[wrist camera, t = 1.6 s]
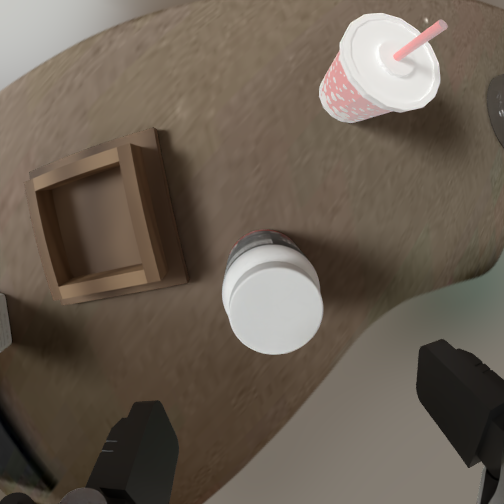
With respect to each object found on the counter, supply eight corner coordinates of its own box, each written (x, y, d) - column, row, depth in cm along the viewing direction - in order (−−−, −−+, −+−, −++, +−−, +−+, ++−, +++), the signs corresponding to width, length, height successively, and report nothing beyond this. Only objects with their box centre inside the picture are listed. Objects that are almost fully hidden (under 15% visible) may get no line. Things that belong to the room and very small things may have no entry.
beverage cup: (335, 145, 23) (435, 110, 10) (294, 78, 22) (347, -21, 8) (394, 114, 23) (512, 72, 9) (356, 52, 22) (442, -36, 8)
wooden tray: (156, 129, 23) (143, 121, 19) (189, 279, 25) (181, 294, 22) (35, 172, 23) (11, 172, 19) (66, 301, 25) (47, 316, 22)
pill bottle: (313, 277, 25) (351, 331, 16) (251, 311, 26) (255, 381, 16) (278, 214, 24) (301, 235, 15) (213, 251, 25) (195, 295, 15)
